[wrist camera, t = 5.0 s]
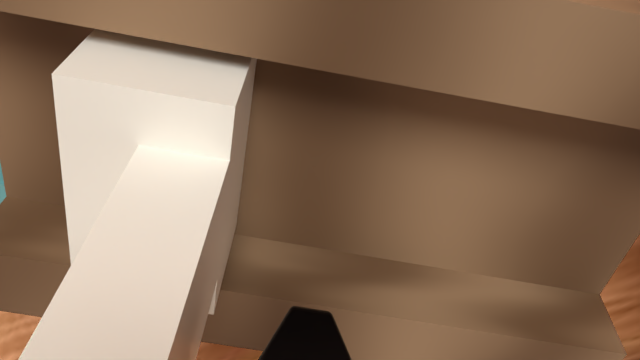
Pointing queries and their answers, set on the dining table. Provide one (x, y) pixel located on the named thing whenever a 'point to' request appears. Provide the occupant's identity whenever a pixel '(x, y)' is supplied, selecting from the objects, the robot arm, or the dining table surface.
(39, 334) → the white offset block
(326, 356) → the robot arm
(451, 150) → the launcher deck
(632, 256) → the dining table surface
